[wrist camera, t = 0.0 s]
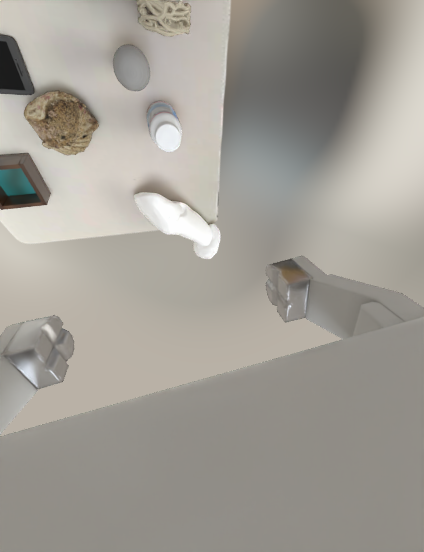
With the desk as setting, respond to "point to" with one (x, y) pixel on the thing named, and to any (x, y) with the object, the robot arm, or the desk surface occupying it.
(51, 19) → the desk surface
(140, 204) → the fish
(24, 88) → the cell phone
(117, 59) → the light bulb
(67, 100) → the seashell
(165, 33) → the white lattice sculpture
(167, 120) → the pill bottle
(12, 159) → the brown wooden box
